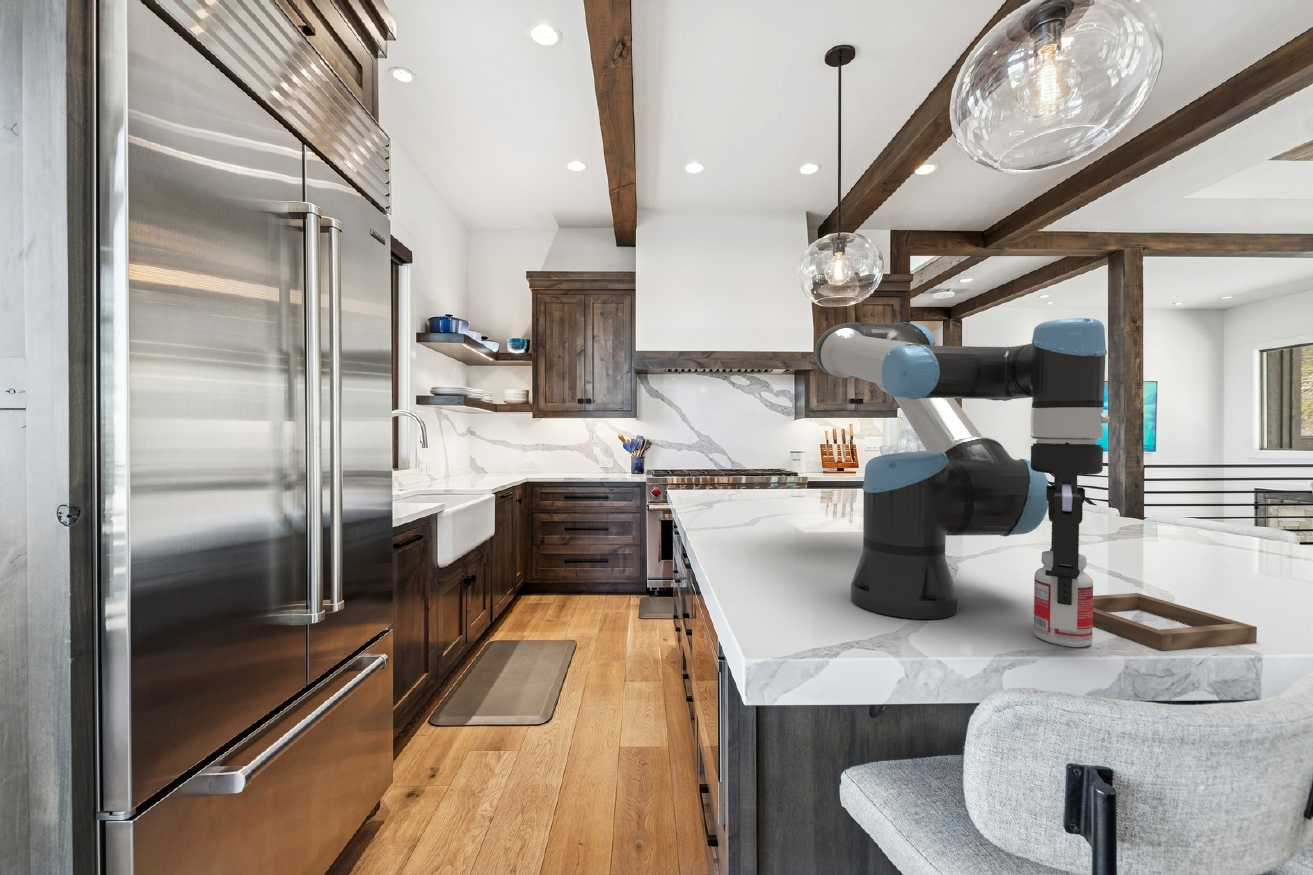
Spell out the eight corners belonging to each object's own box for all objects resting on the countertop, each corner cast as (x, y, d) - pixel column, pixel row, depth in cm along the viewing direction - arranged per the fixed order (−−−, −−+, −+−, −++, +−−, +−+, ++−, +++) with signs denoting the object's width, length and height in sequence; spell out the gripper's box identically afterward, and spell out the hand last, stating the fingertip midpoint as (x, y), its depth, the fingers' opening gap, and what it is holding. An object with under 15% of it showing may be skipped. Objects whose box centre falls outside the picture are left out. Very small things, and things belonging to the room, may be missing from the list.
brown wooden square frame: (1161, 650, 70) (1161, 634, 70) (1054, 611, 85) (1054, 598, 85) (1256, 642, 73) (1256, 627, 73) (1137, 605, 88) (1137, 593, 88)
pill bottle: (1100, 642, 73) (1102, 556, 73) (1080, 652, 69) (1082, 562, 69) (1045, 627, 78) (1047, 547, 78) (1024, 636, 75) (1026, 552, 74)
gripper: (1111, 444, 63) (1106, 651, 64) (1096, 441, 79) (1093, 607, 79) (1030, 442, 67) (1026, 637, 68) (1031, 439, 83) (1028, 597, 84)
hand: (1062, 620), depth 74 cm, fingers closed on pill bottle, 6 cm apart
